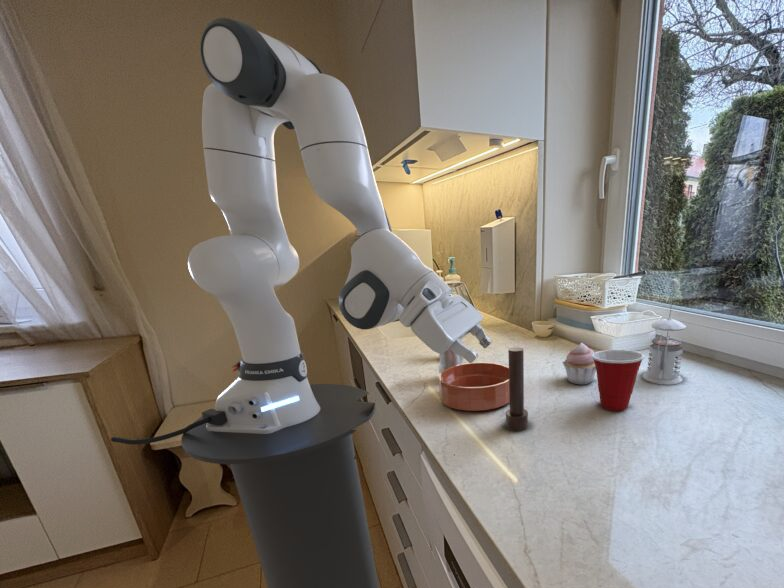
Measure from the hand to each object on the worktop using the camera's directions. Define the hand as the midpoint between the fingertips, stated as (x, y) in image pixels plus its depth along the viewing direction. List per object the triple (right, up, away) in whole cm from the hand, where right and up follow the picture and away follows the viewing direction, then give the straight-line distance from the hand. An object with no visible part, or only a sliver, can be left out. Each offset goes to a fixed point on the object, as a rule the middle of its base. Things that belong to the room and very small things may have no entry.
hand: (482, 352), depth 78 cm
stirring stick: (+7, -14, +4) cm, 16 cm away
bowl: (-2, -9, +18) cm, 20 cm away
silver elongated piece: (-10, -5, +29) cm, 31 cm away
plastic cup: (+28, -11, +13) cm, 33 cm away
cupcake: (+23, -5, +27) cm, 36 cm away
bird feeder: (+44, -5, +28) cm, 52 cm away
